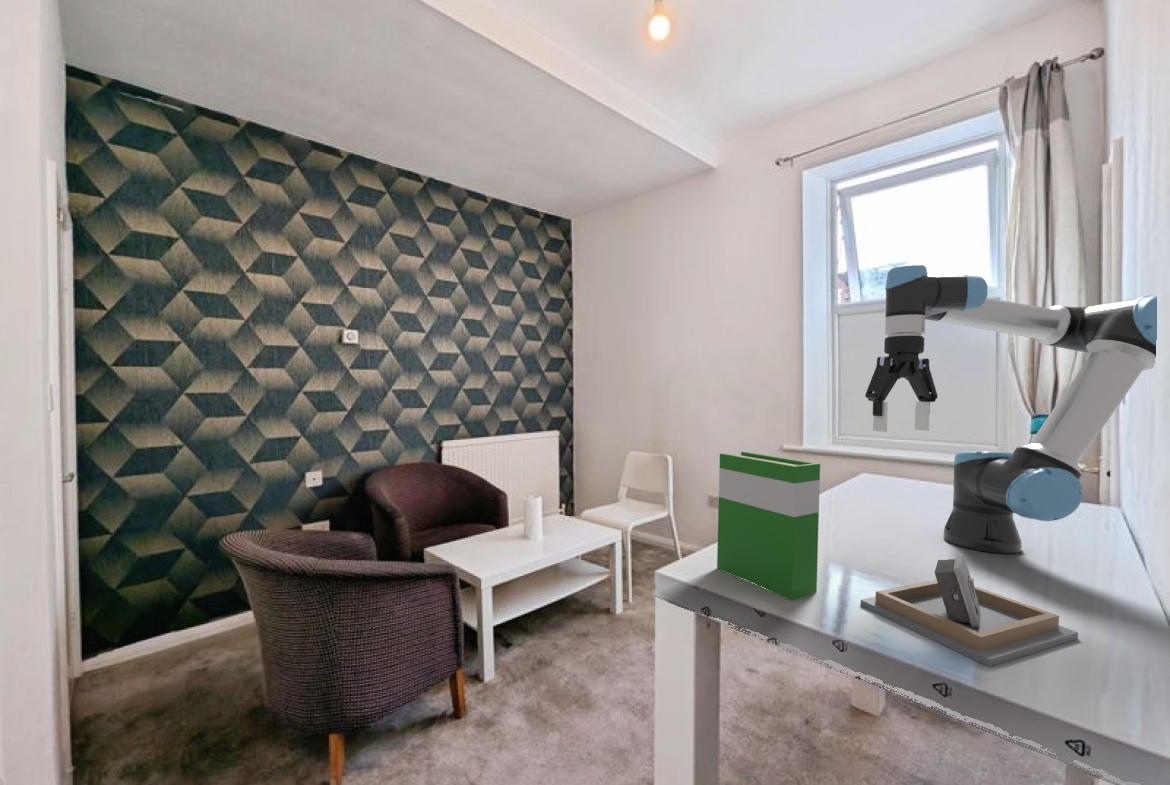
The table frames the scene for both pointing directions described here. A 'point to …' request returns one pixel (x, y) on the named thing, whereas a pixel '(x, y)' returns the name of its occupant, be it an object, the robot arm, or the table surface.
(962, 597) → the electrical switch
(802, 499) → the green open box
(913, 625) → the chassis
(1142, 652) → the table surface
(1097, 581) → the table surface
